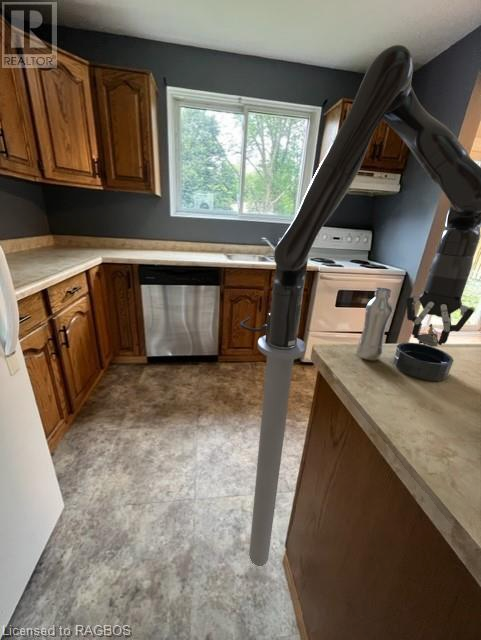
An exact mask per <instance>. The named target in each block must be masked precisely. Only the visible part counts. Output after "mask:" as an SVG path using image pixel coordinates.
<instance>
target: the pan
mask: <svg viewBox="0 0 481 640" xmlns="http://www.w3.org/2000/svg"><path fill="white" fill-rule="evenodd" d="M454 361H455V359H454V357H452V356H451V354H449V353H447V352H446V351H445V350H444V351H443V350H442V349H439V348H437V347H435V346H429V345H424V344H423V343H422V344H419V343H418V342H400V343H398V345H396V349H395V351H394V356H393V359H392V362H393V364H394V366H395V367H396V368H397V369H398V370H399V371H400V372H402V373H404V374H405V375H407V376H410V377H413V378H415V379H419V380H422V381H428V382H440V381H443V380H446V379H448V377H449V375H450V372H451V369H452V367H453V363H454Z"/></svg>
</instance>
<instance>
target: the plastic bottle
mask: <svg viewBox="0 0 481 640" xmlns="http://www.w3.org/2000/svg"><path fill="white" fill-rule="evenodd" d="M373 294H374V297H373V298H372V299H370V300H369V302H368V303H367V304H366V307H365V315H364V324H363V329H362V332H361V335H360V338H359V340H358V342H357V344H356V353H357V355H358V357H360V358H361V359H364V360H367V361H377V360H379V359H380V358H381V356H382V354H383V349H384V346H383V344H384V339H385V338H384V337H385V332H386V329H387V327H388V323H389V322H390V319H391V317H392V315H393V312H394V310H393V309H394V308H393V306H392V303H391V301H390V298H391V294H392V289H390V288H387V287H376V288H375V291H374V293H373Z"/></svg>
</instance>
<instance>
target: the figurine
mask: <svg viewBox="0 0 481 640" xmlns="http://www.w3.org/2000/svg"><path fill="white" fill-rule="evenodd" d="M428 328H429V329H428V331H427V333H419V335H418V337H417V338H416V340H417V341H418V342H417V343H418V344H424V345H428V346H431V347H438V342H439V339H438V338H439V335H438V332H437V330H435V328H433V323H430V324H429V326H428Z"/></svg>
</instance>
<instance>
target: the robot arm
mask: <svg viewBox="0 0 481 640" xmlns="http://www.w3.org/2000/svg"><path fill="white" fill-rule="evenodd" d="M413 73H414V61H413V56H412V53H411V51H410V49H409V48H407V46H405V45H403V44H394V45H391V46H389V47H387V48H385V49H384V50H383V51H381V52H380V53H379V54H377V56H376V57H375V58H374V59H373V61H372V62H371V63H370V65H369V67H368V68H367V70H366V71H365V75H364V76H363V79H362V81H361V83H360V86H359V88H358V91H357V93H356V95H355V98H354V101H353V102H352V104H351V106H350V109H349V111H348V113H347V115H346V116H345V119H344V121H343V123H342V125H341V126H340V128H339V130H338V132H337V133H336V136H335V137H334V139H333V141H332V142H331V145H330V146H329V148H328V150H327V152H326V154H325V156H324V157H323V159H322V160H321V162H320V164H319V167H318V168H317V170H316V172H315V174H314V176H313V178H312V179H311V182H310V184H309V186H308V188H307V190H306V192H305V195H304V197H303V199H302V201H301V204H300V206H299V209H298V211H297V214H296V216H295V217H294V219H293V221H292V222H291V224H290V226H289V227H288V228H287V230H286V232H285V233H284V235H283V236H282V237H281V239H280V241H279V242H278V243H277V245H276V247H275V248H274V252H273V259H274V263H275V272H274V278H273V282H272V290H271V302H270V311H269V312H270V313H267V315H266V316H267V318H266V323H265V324H264V325H262V326H261V327H260V328H252V327H248V326H246V325H244V324H245V323H247V322H249V321H250V320H251V317H250V316H248V317H247V318H246V319H244V320H242V321H240V323H239V326H240V327H241V328H242V329H243V330H246V331H249V332H255V333H256V332H257V333H258V332H259V333H260V332H263V334H264V333H265V335H266V339H265V342H267V343H268V344H269V345H270V346H271V347H273V348H276V349H281V350H289V349H293V348H295V347H296V346H297V338H298V334H299V327H300V321H301V320H300V319H301V313H302V305H303V296H304V290H305V289H304V288H305V283H306V276H307V268H308V262H309V253H310V251H311V249H312V248H313V245H314V243H315V240H316V239H317V236H318V235H319V233H320V231H321V230H322V228H323V226H324V225H325V224H326V223H327V221H328V220H329V219H330V217H331V216H332V215H333V213H334V212H335V211H336V210H337V208H338V207H339V205H340V203H341V202H342V201H343V199H344V198H345V196H346V194H347V193H348V191H349V189H350V187H351V186H352V184H353V182H354V181H355V179H356V177H357V175H358V173H359V171H360V169H361V166H362V164H363V161H364V159H365V156H366V154H367V151H368V149H369V146H370V143H371V141H372V138H373V136H374V134H375V131H376V130H377V127H378V126H379V124H380V122H381V121H383V122H385V123H386V124H387V125H388V126H389V127H390V128H391V129H392V130H393V131H394V132H395V133H396V134H397V135H398V136H399V137H400V138H401V140H402V141H403V142H404V144H405V145H406V146H407V147H408V150H410V151H411V153H412V155H413V156H414V157H415V159H416V160H417V162H418V163H419V165H420V166H421V167H422V168H423V170H424V171H425V172H426V174H427V175H428V176H429V178H430V179H431V181H433V183H435V184H436V185H438V186H439V187H440V189H441V190H442V192H443V193H444V195H445V197H446V198H447V199H448V201H449V202H450V203H449V206H448V211H447V215H446V219H445V223H444V224H445V225H444V229H443V231H442V234H441V235H440V237H439V241H438V244H437V248H436V251H435V255H434V257H433V260H432V262H431V264H430V267H429V270H428V274H427V279H426V283H425V285H424V289H423V291H422V294H420V296H413V295H410V296H409V297H407V298H406V318H407V320H408V321H410V322H413V328H412V331H411V335H412V336H413V338H414V339H417V337H418V335H420V334H421V329H422V326H423V323H422V322H423V320H424V319H425V318H426V317H427V315H429V316H436V317H438V318H441V322H442V325H443V327H442V328H443V329H442V330H441V333H440V336H439V339H438V341H439V342H438V344H437V345H439V346H442V345H445V344H446V343H447V341H448V340H449V336H450V333H452V332H457V333H458V332H460V331H461V330H462V328H463V327H464V326H465V324H466V323H467V322H468V321H469V319H470V318H471V316H472V315H473V314H474V312H475V308H474V307H473V306H470V307H469V306H466V305H465V304H463V301H462V297H463V294H464V292H465V289H466V285H467V283H468V280H469V276H470V273H471V270H472V267H473V261H474V258H475V254H476V251H477V248H478V245H479V243H480V239H481V166H480V165H479V164H478V163H476V161H475V160H474V159H472V158H471V156H470V154H469V153H468V151H467V150H466V148H465V147H464V146H463V144H462V143H461V141H460V140H459V139H458V138H457V136H456V135H455V134H454V133H453V132H452V131H451V130H450V128H448V126H446V125H445V124H444V123H442V122H441V121H439V120H438V119H436V118H435V117H433V115H431V114H430V113H429V112H428V111H427V110H426V109H425V108H424V107H423V106H422V104H421V103H420V101H419V99H418V97H417V95H416V94H415V91H414V89H413V86H412V79H413ZM418 302H419V303H420V305H421V307H422V311H421V312H420V313H419V315H418V316H417V315H416V305H417V304H418ZM458 310H460V312H459V313H460V316H461V318H460V319H459V320H458V322H457V323H456V324H452V315H451V314H453V313H455V312H456V311H458Z"/></svg>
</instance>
